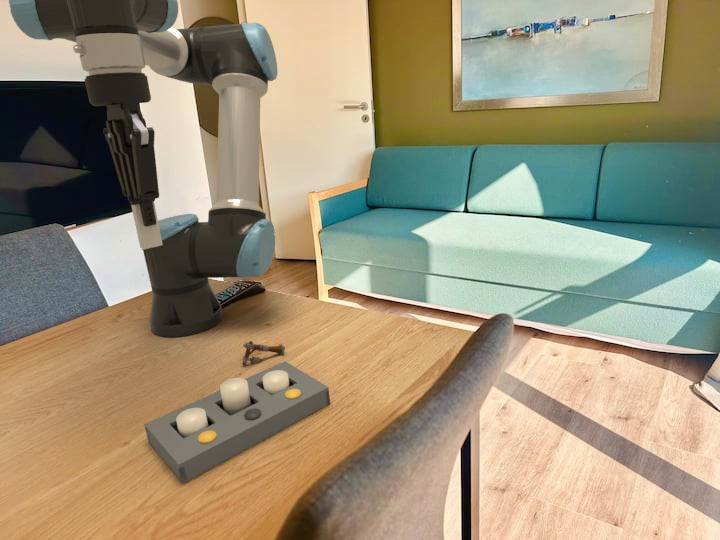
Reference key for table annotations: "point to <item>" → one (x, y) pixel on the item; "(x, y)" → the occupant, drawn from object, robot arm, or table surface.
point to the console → (235, 423)
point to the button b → (235, 395)
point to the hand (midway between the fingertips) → (151, 246)
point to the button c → (275, 381)
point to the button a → (191, 421)
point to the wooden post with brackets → (250, 345)
